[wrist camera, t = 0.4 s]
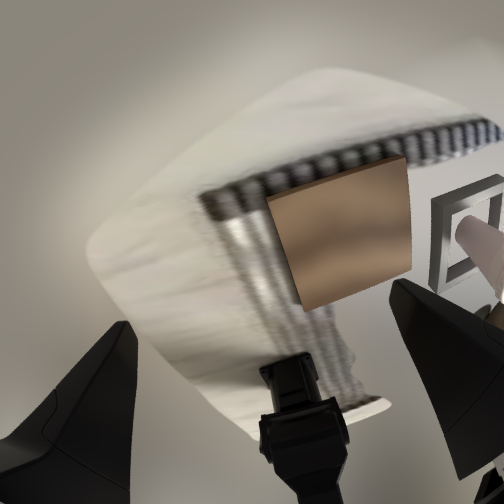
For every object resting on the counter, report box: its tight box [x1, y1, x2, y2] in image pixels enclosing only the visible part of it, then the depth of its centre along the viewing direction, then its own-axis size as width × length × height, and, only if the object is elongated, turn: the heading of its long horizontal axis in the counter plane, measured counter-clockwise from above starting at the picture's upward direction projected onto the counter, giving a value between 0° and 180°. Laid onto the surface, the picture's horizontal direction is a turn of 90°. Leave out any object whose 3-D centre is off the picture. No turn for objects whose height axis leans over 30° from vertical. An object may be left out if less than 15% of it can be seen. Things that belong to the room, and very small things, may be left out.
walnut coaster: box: [266, 155, 412, 312], centre depth 24 cm, size 12×12×1 cm
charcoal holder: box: [428, 174, 504, 295], centre depth 25 cm, size 11×11×2 cm
